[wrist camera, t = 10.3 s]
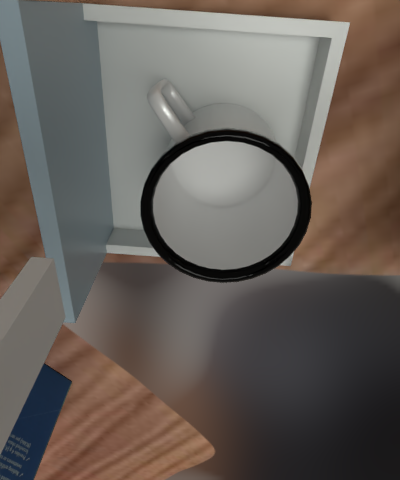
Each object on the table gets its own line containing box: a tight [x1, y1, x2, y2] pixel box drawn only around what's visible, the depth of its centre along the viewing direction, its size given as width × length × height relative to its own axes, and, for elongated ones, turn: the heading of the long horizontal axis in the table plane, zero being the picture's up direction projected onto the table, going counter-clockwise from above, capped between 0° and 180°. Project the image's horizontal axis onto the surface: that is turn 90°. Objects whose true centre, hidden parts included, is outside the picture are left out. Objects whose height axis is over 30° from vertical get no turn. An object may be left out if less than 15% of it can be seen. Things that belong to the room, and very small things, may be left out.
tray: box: [0, 0, 350, 323], centre depth 23 cm, size 16×17×11 cm
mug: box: [140, 79, 312, 283], centre depth 23 cm, size 12×9×9 cm
